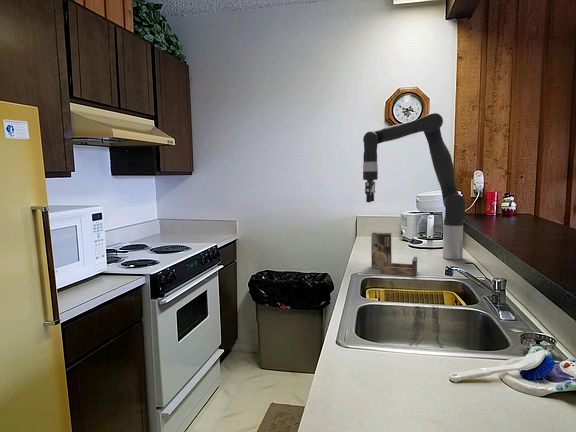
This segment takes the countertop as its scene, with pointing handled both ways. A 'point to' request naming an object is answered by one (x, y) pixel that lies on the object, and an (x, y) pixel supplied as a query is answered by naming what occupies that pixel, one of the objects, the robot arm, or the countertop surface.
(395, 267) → the endcap cradle
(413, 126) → the robot arm
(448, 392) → the countertop surface
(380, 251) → the coffee box
